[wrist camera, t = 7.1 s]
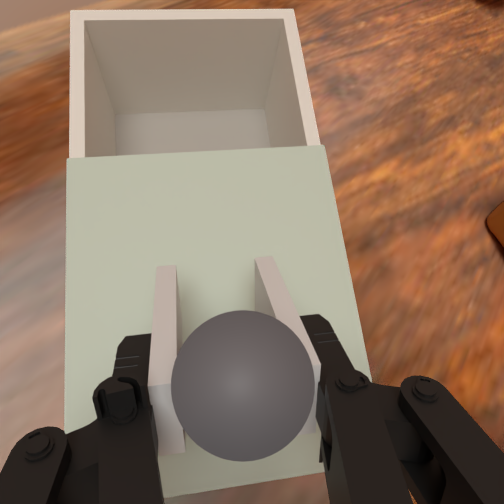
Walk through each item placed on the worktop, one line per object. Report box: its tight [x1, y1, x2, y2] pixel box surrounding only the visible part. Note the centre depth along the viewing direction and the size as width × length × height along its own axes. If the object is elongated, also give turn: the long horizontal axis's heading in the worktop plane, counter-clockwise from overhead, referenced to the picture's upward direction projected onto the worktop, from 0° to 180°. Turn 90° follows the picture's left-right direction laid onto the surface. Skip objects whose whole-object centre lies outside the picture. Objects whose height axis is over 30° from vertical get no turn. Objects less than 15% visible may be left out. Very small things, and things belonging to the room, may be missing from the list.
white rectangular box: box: [69, 9, 320, 158], centre depth 29 cm, size 14×16×10 cm
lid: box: [64, 145, 372, 498], centre depth 16 cm, size 14×16×11 cm
